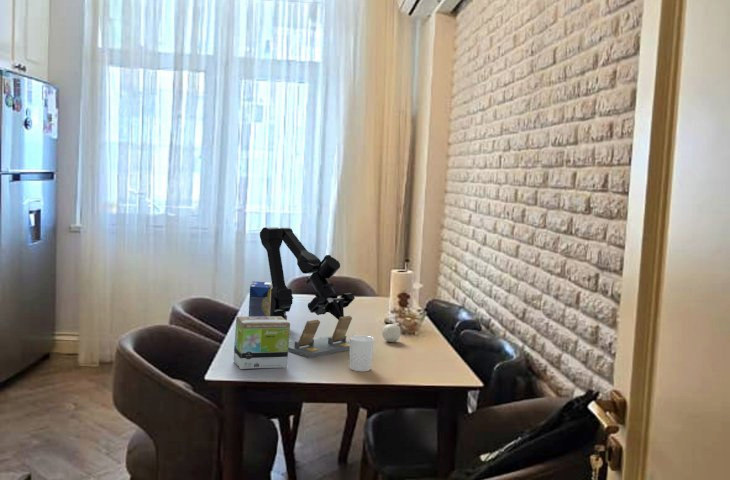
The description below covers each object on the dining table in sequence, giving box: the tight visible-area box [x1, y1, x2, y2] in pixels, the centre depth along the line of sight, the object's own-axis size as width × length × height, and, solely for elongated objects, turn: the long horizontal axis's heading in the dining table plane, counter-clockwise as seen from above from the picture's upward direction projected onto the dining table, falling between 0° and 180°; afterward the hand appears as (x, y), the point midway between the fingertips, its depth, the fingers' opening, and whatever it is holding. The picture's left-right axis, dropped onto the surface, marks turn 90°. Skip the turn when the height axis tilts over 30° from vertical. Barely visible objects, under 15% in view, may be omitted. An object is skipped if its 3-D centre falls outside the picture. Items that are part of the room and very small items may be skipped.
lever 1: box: [298, 319, 321, 347], centre depth 241 cm, size 1×5×10 cm, turn 137°
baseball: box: [381, 323, 402, 343], centre depth 263 cm, size 7×7×7 cm
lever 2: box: [331, 315, 353, 342], centre depth 250 cm, size 1×5×10 cm, turn 137°
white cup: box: [348, 334, 375, 372], centre depth 225 cm, size 8×8×10 cm
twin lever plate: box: [288, 335, 350, 359], centre depth 248 cm, size 14×24×3 cm, turn 137°
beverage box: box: [248, 280, 272, 317], centre depth 242 cm, size 7×11×22 cm, turn 6°
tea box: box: [233, 316, 291, 370], centre depth 222 cm, size 15×10×15 cm, turn 114°
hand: (342, 321), depth 250 cm, fingers closed, pressing on lever 2
